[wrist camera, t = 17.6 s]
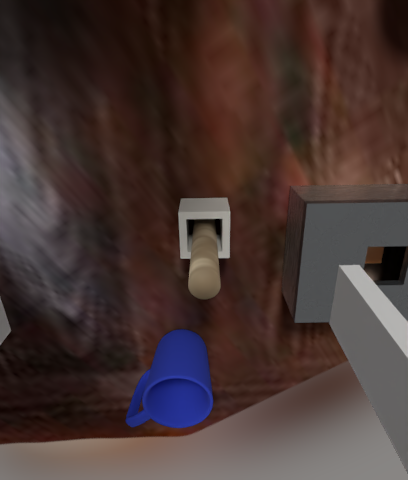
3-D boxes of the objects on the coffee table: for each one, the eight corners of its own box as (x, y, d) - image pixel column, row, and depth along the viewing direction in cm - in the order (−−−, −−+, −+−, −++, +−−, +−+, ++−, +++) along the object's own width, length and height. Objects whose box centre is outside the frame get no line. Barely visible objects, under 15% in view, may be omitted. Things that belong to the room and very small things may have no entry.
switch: (342, 254, 43) (350, 263, 41) (347, 227, 42) (355, 235, 39) (371, 254, 43) (380, 263, 41) (377, 227, 42) (386, 234, 39)
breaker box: (281, 290, 45) (294, 322, 39) (290, 185, 40) (306, 203, 33) (418, 287, 45) (454, 320, 39) (446, 183, 40) (492, 200, 33)
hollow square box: (182, 240, 43) (180, 258, 38) (180, 198, 40) (178, 212, 36) (226, 240, 43) (229, 257, 38) (227, 197, 40) (230, 211, 36)
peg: (194, 231, 42) (188, 299, 28) (193, 211, 41) (187, 271, 27) (215, 231, 42) (220, 299, 28) (215, 210, 41) (220, 271, 27)
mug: (121, 353, 50) (102, 413, 40) (187, 311, 47) (183, 364, 38) (158, 388, 52) (148, 451, 43) (222, 349, 49) (227, 408, 40)
